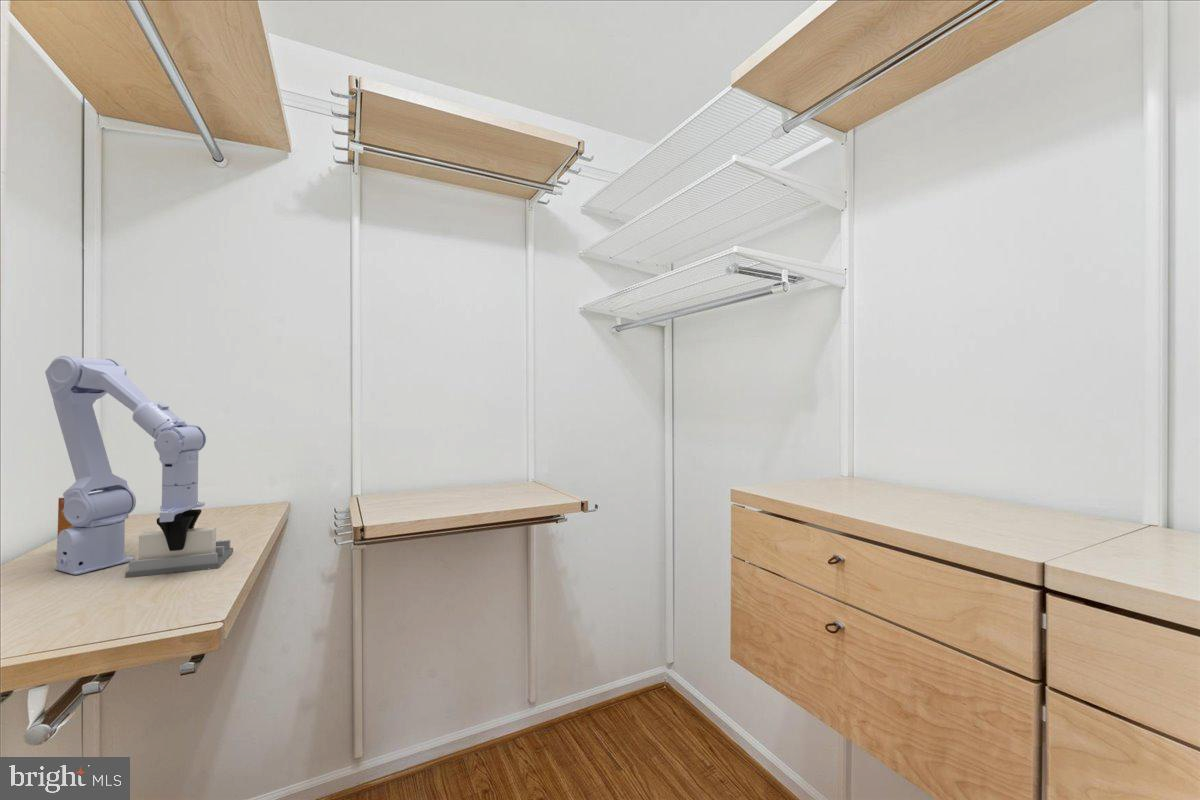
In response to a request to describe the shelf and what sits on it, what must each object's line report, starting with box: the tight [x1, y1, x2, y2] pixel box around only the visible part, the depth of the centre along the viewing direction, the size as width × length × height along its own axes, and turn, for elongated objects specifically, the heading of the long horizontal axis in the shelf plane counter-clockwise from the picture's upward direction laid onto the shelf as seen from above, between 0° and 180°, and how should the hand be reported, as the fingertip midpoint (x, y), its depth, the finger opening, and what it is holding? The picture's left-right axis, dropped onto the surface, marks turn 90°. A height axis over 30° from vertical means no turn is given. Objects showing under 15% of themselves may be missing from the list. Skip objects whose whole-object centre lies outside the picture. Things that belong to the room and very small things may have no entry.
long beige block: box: [138, 526, 217, 560], centre depth 101 cm, size 12×3×6 cm, turn 115°
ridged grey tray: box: [124, 539, 234, 579], centre depth 103 cm, size 15×11×3 cm
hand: (179, 547), depth 101 cm, fingers closed on long beige block, 2 cm apart
